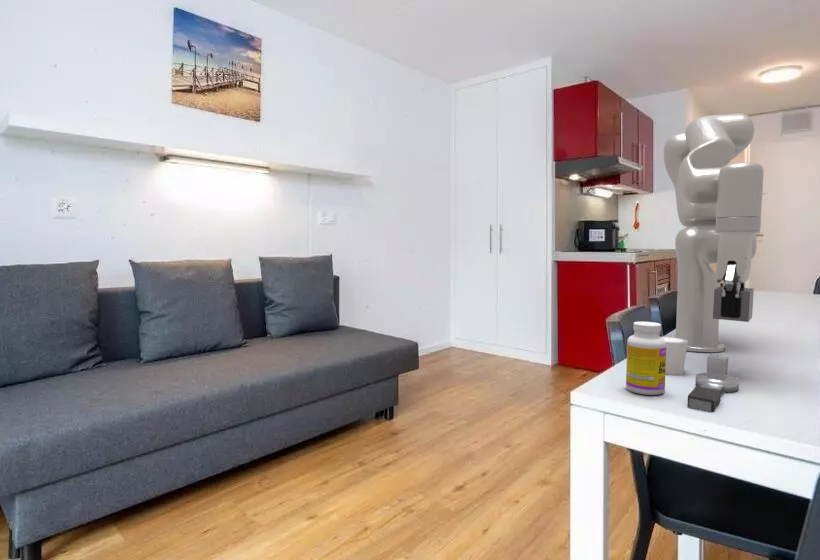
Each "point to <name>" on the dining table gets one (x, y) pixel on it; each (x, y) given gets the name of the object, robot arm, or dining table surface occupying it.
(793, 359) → the dining table surface
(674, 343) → the white cup
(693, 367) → the dining table surface
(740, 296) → the grey cube
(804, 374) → the dining table surface
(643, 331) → the supplement bottle
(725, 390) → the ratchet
